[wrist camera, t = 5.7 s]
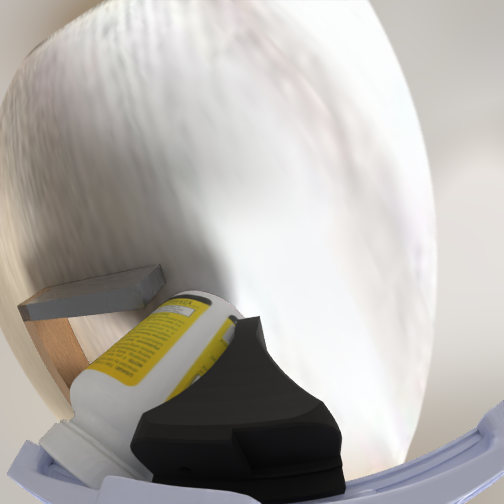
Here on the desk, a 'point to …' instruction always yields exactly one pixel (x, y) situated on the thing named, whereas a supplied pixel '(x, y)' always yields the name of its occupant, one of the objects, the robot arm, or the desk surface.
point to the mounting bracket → (82, 304)
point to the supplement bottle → (138, 385)
